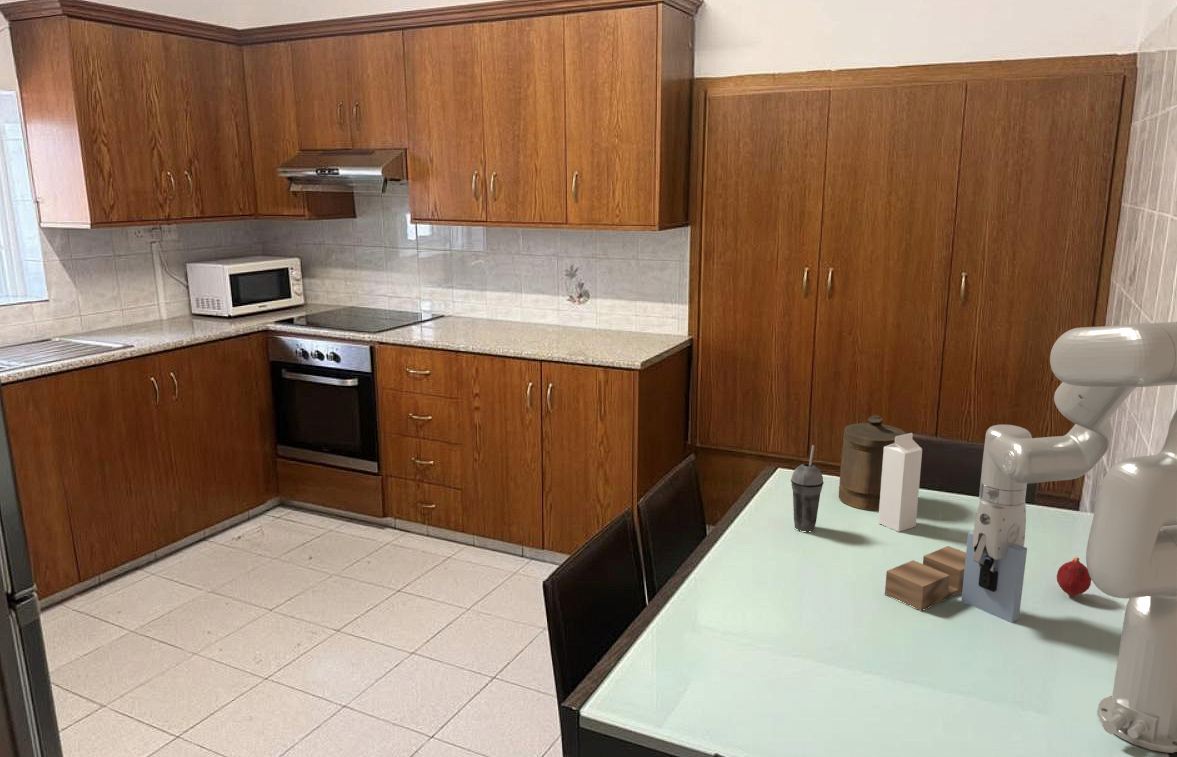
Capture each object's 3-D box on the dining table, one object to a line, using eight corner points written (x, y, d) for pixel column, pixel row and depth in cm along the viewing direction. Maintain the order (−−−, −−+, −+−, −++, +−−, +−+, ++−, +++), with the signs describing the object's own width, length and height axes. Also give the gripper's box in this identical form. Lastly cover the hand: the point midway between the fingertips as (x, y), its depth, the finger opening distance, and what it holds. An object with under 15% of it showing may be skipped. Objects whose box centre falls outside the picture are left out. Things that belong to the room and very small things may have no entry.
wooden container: (913, 506, 211) (920, 420, 206) (864, 514, 206) (870, 427, 201) (873, 486, 224) (879, 405, 219) (826, 494, 219) (831, 411, 214)
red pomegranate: (1093, 604, 162) (1098, 565, 160) (1060, 601, 163) (1065, 563, 161) (1082, 590, 168) (1087, 552, 166) (1050, 587, 169) (1055, 550, 167)
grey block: (1011, 622, 156) (1019, 551, 152) (961, 601, 164) (968, 532, 160) (1018, 618, 157) (1027, 548, 154) (968, 597, 165) (975, 529, 162)
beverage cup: (781, 525, 200) (785, 443, 195) (807, 520, 202) (811, 439, 198) (802, 537, 193) (806, 452, 188) (827, 531, 196) (832, 448, 191)
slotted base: (920, 611, 160) (923, 586, 159) (884, 594, 166) (886, 570, 165) (982, 582, 171) (984, 559, 170) (945, 568, 177) (948, 545, 176)
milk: (877, 523, 200) (883, 433, 195) (895, 518, 203) (901, 429, 198) (899, 532, 195) (905, 440, 190) (916, 526, 198) (923, 435, 193)
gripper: (997, 509, 148) (986, 606, 152) (1046, 490, 156) (1035, 582, 161) (957, 496, 154) (948, 590, 158) (1007, 478, 162) (997, 568, 167)
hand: (992, 585), depth 159 cm, fingers closed on grey block, 2 cm apart
